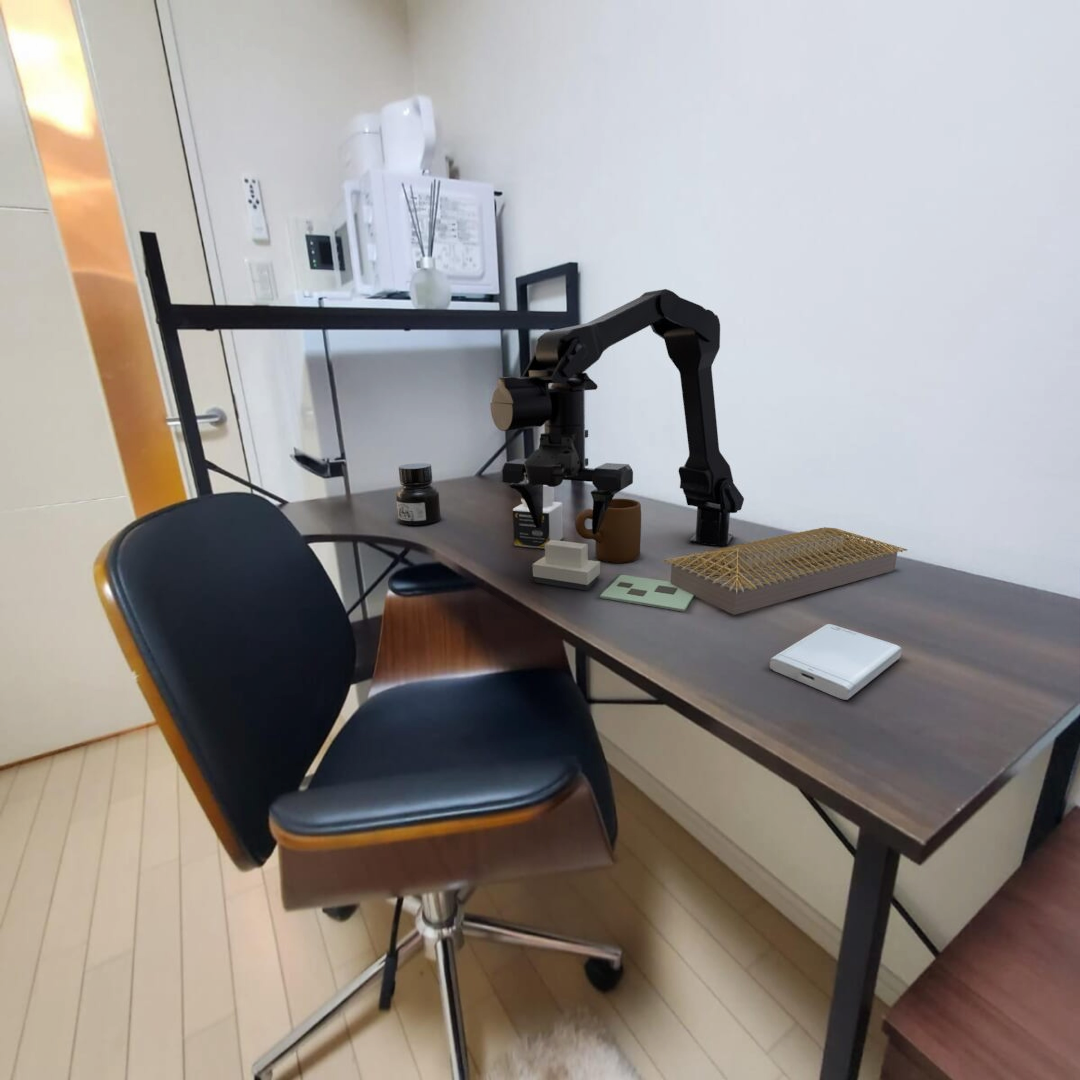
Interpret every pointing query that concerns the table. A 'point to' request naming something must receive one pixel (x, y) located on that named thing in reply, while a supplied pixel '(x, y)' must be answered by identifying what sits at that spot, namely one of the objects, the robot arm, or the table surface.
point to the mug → (615, 531)
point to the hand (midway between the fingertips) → (566, 530)
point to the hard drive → (836, 660)
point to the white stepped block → (566, 566)
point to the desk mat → (648, 593)
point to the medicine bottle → (551, 522)
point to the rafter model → (789, 548)
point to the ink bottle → (417, 495)
